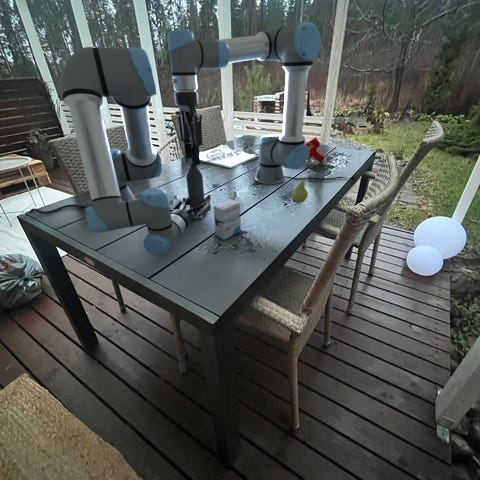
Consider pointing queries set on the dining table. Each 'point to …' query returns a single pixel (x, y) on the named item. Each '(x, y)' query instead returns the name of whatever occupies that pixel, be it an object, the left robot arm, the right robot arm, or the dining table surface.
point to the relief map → (225, 156)
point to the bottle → (195, 186)
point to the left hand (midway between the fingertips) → (201, 196)
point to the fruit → (300, 192)
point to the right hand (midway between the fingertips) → (193, 163)
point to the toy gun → (314, 149)
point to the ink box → (227, 218)
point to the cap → (189, 160)
